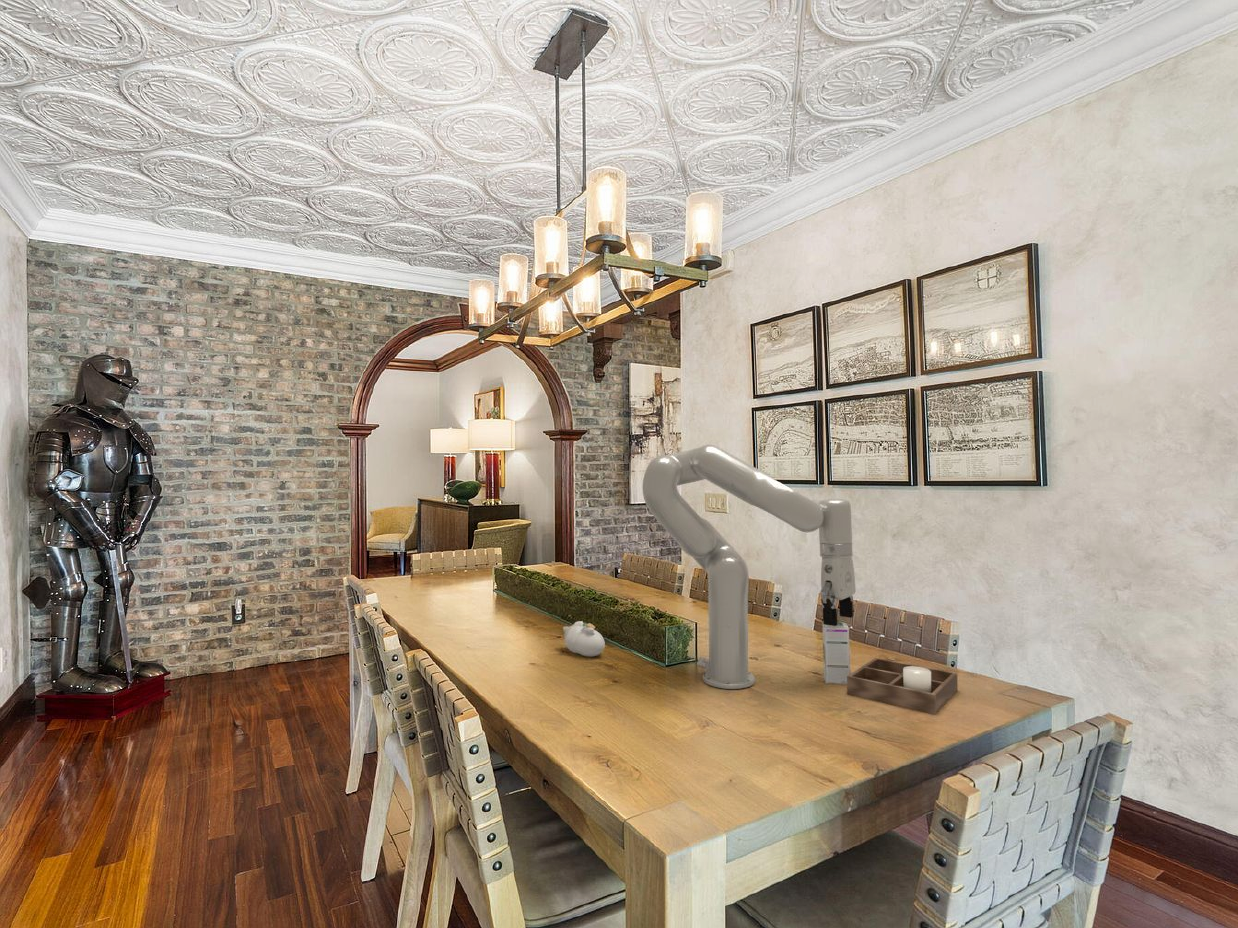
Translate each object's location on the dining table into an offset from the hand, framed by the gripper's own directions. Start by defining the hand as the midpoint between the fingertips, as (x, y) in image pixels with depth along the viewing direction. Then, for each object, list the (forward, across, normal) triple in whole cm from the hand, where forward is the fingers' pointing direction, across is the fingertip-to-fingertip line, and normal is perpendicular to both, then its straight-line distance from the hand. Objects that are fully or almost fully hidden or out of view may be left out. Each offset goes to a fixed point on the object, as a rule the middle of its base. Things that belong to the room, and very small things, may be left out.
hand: (838, 620), depth 154 cm
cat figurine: (+14, -22, +66) cm, 71 cm away
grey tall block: (+15, -1, +1) cm, 15 cm away
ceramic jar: (+14, -4, -19) cm, 24 cm away
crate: (+16, 0, -14) cm, 21 cm away
